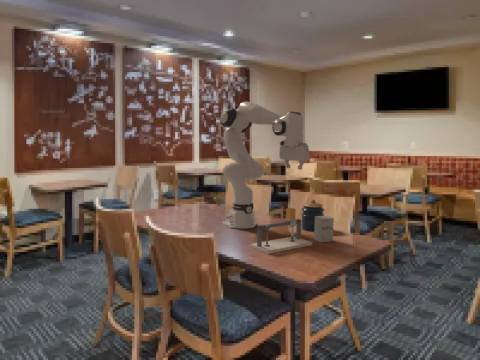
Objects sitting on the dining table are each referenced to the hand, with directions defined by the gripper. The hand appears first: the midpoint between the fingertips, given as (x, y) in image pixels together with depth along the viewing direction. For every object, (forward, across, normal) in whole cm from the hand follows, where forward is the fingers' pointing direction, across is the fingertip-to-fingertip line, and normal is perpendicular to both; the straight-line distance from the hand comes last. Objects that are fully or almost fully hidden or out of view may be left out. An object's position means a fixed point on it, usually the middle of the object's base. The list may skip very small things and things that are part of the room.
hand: (293, 168), depth 210 cm
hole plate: (+37, -10, +16) cm, 42 cm away
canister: (+37, +8, -23) cm, 44 cm away
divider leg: (+35, -8, +9) cm, 37 cm away
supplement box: (+37, -14, -9) cm, 41 cm away
